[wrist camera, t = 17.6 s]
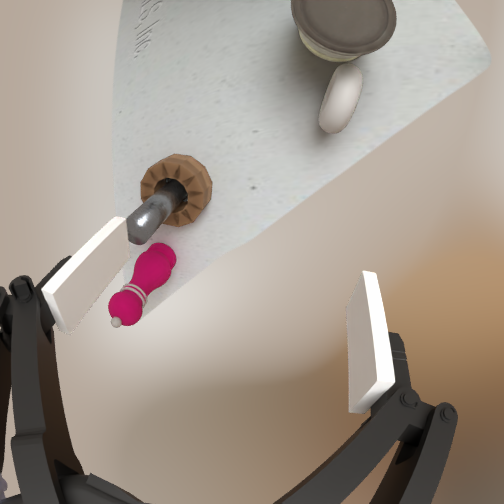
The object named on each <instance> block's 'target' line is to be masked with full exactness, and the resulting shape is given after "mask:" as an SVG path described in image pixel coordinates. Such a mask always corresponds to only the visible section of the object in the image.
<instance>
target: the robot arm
mask: <svg viewBox="0 0 504 504" xmlns="http://www.w3.org/2000/svg"><path fill="white" fill-rule="evenodd" d="M129 259H130V250H129V242H128V233H127V223H126V218H122V217H117V216H115V217H114V218H113V219H112V220H110V221H109V222H108V223H107V224H106V225H105V226H104V227H103V228H102V229H100V230H99V231H98V232H97V233H96V234H95V235H94V236H93V237H92V238H91V239H90V240H89V241H88V242H87V243H86V244H85V245H84V246H83V247H81V248H80V249H79V250H78V251H77V253H75V255H74V256H68V257H66V258H65V259H63V260H61V261H60V262H59V263H58V264H57V265H56V266H55V268H53V269H52V270H51V271H50V273H48V274H47V275H46V276H45V277H44V278H43V279H42V281H41V282H40V283H39V284H38V285H37V286H36V287H34V285H33V282H32V280H31V278H30V277H29V276H26V275H23V276H19V277H17V278H15V279H14V280H12V282H11V283H10V285H9V290H10V292H11V294H12V295H8V294H7V292H6V290H5V288H4V287H0V327H1V330H0V504H149V503H144V502H142V501H141V500H139V499H138V498H136V497H135V496H134V495H132V494H131V493H129V492H127V491H125V490H123V489H121V488H119V487H118V486H116V485H114V484H111V483H109V482H108V481H105V480H103V479H101V478H99V477H97V476H95V475H93V474H92V473H90V475H85V474H84V471H83V469H82V466H81V464H80V462H79V460H78V459H77V457H76V455H75V453H74V451H73V447H72V443H71V439H70V436H69V432H68V427H67V423H66V418H65V414H64V408H63V403H62V397H61V391H60V385H59V378H58V370H57V362H56V354H55V342H54V331H53V328H52V326H53V325H54V324H55V322H56V325H57V327H58V329H59V330H60V331H62V332H64V333H66V334H68V335H71V334H72V332H73V331H74V330H75V328H76V327H77V325H78V324H79V323H80V321H81V320H82V318H83V317H84V316H85V314H86V313H87V312H88V310H89V309H90V308H91V307H92V305H93V304H94V303H95V301H96V300H97V299H98V297H99V296H100V294H101V293H102V292H103V291H104V290H105V288H106V287H107V286H108V284H109V283H110V282H111V281H112V280H113V278H114V277H115V276H116V274H117V273H118V272H119V271H120V270H121V268H122V267H123V266H124V265H125V264H126V262H127V261H128V260H129ZM346 319H347V335H348V336H347V337H348V364H349V412H352V413H362V414H365V413H366V412H367V411H368V410H369V409H370V408H371V416H370V417H369V418H368V419H367V420H366V421H365V422H364V423H362V424H361V427H360V428H359V429H358V430H357V431H356V432H355V433H354V434H353V435H352V436H351V437H350V438H349V439H348V440H347V441H346V442H345V443H344V444H343V445H342V446H341V447H340V448H339V449H338V450H337V451H336V452H335V453H334V454H333V455H332V456H330V457H329V458H328V459H327V460H326V461H325V462H324V463H323V464H321V465H320V466H319V467H318V468H317V469H316V470H315V471H314V472H312V473H311V474H310V475H309V476H308V477H306V478H305V479H304V480H303V481H302V482H300V483H299V484H298V485H297V486H295V487H294V488H293V489H292V490H290V491H289V492H288V493H286V494H285V495H284V496H282V497H281V498H280V499H279V500H277V501H276V502H274V503H273V504H340V503H341V502H342V501H343V500H344V499H345V498H346V497H347V496H348V495H349V494H350V493H351V492H352V491H353V490H354V489H355V488H356V487H357V486H358V485H359V484H360V483H361V482H362V481H363V480H364V479H365V478H366V477H367V476H368V474H369V473H370V472H371V471H372V470H373V469H374V467H376V465H377V464H378V463H379V462H380V461H381V459H382V458H383V457H384V456H385V454H386V453H387V452H388V451H389V450H390V448H391V447H392V446H393V445H394V443H395V442H396V441H397V440H398V441H400V443H399V446H398V448H397V451H396V453H395V455H394V457H393V459H392V461H391V463H390V465H389V468H388V470H387V472H386V474H385V476H384V478H383V480H382V482H381V483H380V485H379V487H378V489H377V491H376V493H375V495H374V496H373V498H372V500H371V502H370V503H369V504H431V502H432V499H433V497H434V494H435V492H436V489H437V487H438V484H439V481H440V479H441V476H442V473H443V470H444V467H445V464H446V461H447V458H448V454H449V451H450V448H451V444H452V440H453V437H454V433H455V428H456V425H457V419H458V415H457V412H456V410H455V408H454V407H453V406H452V405H451V404H449V403H446V402H444V403H440V404H439V405H437V406H436V407H434V406H432V405H429V404H427V403H424V402H422V401H420V398H419V395H418V394H417V393H416V392H415V390H413V389H412V388H411V382H410V376H409V370H408V364H407V361H406V359H407V358H406V354H405V348H404V343H403V341H402V339H401V337H400V336H399V334H398V333H392V332H388V330H387V324H386V319H385V313H384V309H383V304H382V299H381V294H380V289H379V285H378V280H377V276H376V273H373V272H368V271H364V270H363V271H362V273H361V275H360V278H359V280H358V282H357V284H356V287H355V289H354V291H353V294H352V295H351V298H350V300H349V302H348V304H347V306H346ZM11 385H12V400H13V412H14V420H15V429H16V434H15V436H14V437H12V439H11V450H12V455H13V461H14V466H15V471H16V475H17V480H18V484H19V488H20V492H21V494H18V495H15V496H12V497H9V498H5V495H4V491H6V490H7V483H6V481H5V480H4V479H3V478H2V475H1V473H2V468H3V462H4V452H5V434H6V422H7V413H8V405H9V398H10V391H11Z"/></svg>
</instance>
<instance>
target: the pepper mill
mask: <svg viewBox="0 0 504 504" xmlns="http://www.w3.org/2000/svg"><path fill="white" fill-rule="evenodd" d="M175 263H176V256H175V253H174V251H173V250H172V249H171V248H170V247H169V246H167V245H166V244H163V243H154V244H152V245H151V246H150V247H149V249H148V250H147V251H146V252H143V253H142V254H141V255H140V256H139V257H138V259H137V261H136V263H135V267H134V274H133V277H132V279H131V281H130V282H129V284H125V285H124V286H123V288H122V289H121V290H120V292H118V293H115V294H114V295H113V296H112V298H111V299H110V301H109V305H108V309H109V313H110V315H111V317H112V320H111V324H112V326H113V327H116V328H118V327H120V326H121V325H124V326H131V325H134V324H135V323H137V322H138V321H139V319H140V318H141V316H142V308H143V307H144V306H145V304H146V303H147V296H148V295H149V294H150V293H151V292H152V291H153V290H154V289H156V288H158V287H160V286H162V285H163V284H164V283H166V281H167V280H168V279H169V277H170V275H171V270H172V268H173V267H174V265H175Z"/></svg>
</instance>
